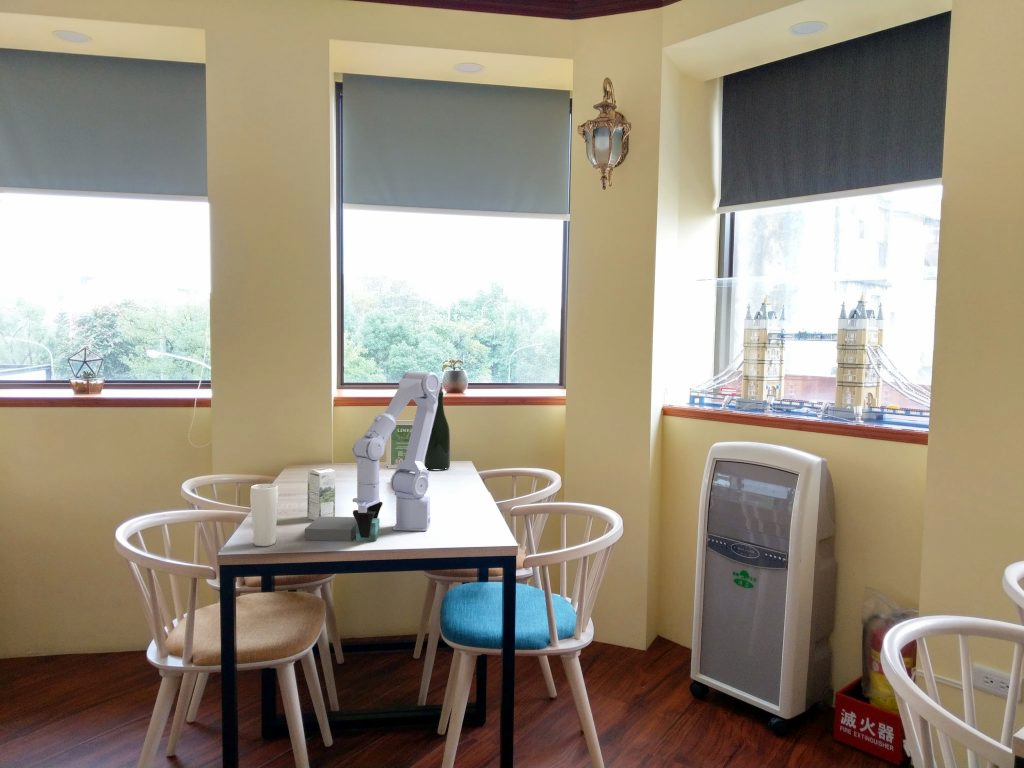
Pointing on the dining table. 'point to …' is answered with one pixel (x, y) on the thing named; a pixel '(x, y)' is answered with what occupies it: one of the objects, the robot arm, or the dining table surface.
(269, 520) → the drinking glass
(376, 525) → the teal cube
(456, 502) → the dining table surface
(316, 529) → the gray square slab
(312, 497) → the syrup box
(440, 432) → the dark green bottle
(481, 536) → the dining table surface
